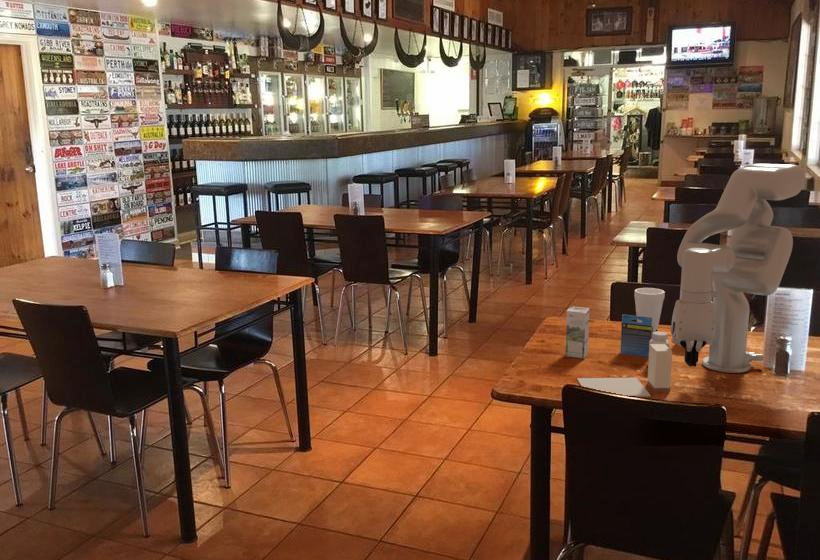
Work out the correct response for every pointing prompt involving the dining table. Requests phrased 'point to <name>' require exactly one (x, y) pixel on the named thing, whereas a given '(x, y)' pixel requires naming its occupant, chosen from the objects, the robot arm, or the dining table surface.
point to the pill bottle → (658, 339)
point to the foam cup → (649, 304)
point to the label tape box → (636, 335)
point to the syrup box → (577, 332)
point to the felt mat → (616, 386)
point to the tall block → (659, 367)
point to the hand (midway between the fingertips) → (690, 364)
